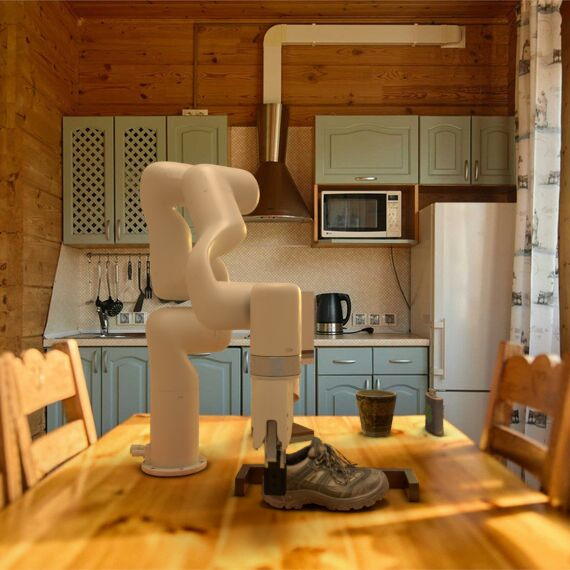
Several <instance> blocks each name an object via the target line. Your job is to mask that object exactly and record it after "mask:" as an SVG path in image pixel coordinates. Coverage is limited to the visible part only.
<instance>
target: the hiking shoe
mask: <svg viewBox="0 0 570 570" xmlns="http://www.w3.org/2000/svg"><path fill="white" fill-rule="evenodd" d="M337 453H338V454H337ZM343 464H344V465H343ZM264 465H265V463H264ZM284 465H287V491H286V495H285V496H272V495H265V494H264V476H263V483H262V484H261V487H260V495H261V497H262V499H263V501H265V502H266V504H267V503H268V504H269V505H270V506H272V507H273V508H279V509H283V508H284V509H286V510H291V509H292V508H293V509H295V510H300V509H302V508H303V505H307V504H316V505H319V506H322V507H323V506H324V507H325V508H326V509H327V510H331V511H336V510H337V511H350V510H351V509H354V510H360V509H363V507H367V508H369V507H371V506H374V505H376V502H377V501H382V500H383V498H384V497H386V496H387V494H388V492H389V491H390V490H389V489H390V488H389V483H388V479H387V477H386V475H385V474H384V473H383V472H382V471H381V470H376V469H373V468H374V467H372V468H367V466H361V467H362V468H356V467H357V466H358V463H355V462H354V461H351V460H348V459H347V458H346V457H345V456H344V455H343V454H342V453H341V452H340V451H339V450H338V449H337V448H335V446H333V445H331V444H329V443H326V442H323V440H322V439H321V438H320V437H317V436H314V438H312V440H311V441H310V444H308V445H306V446H304V447H302V448H300V449H298V450H296V451H294V452H292V453H286V464H284ZM346 467H351V468H349V469H346Z"/></svg>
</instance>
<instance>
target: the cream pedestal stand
mask: <svg viewBox="0 0 570 570" xmlns="http://www.w3.org/2000/svg"><path fill="white" fill-rule="evenodd" d="M314 364H315V291H307V290H306V291H302V290H301V366H302V365H303V366H304V365H314ZM250 378H251V377H250ZM255 385H256V379H253V378H251V379H250V386H251V387H250V388H251V389H250V397H251V398H250V402H251V403H250V413H251V414H250V415H251V416H250V418H251V419H250V433H251V434H250V435H251V436H252V437H253V419H254V397H255ZM299 400H300V378H298V379H293V404H295V403H297V402H298V401H299ZM314 437H315V430H314V429H312V428H309V427H308V426H307V427H306V426H304V425H303V424H299V423H297V422H294V421H293V422H292V433H291V438H290V442H289V444H291V443H297V442H304V441H310V440H311V441H312V438H314Z"/></svg>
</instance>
